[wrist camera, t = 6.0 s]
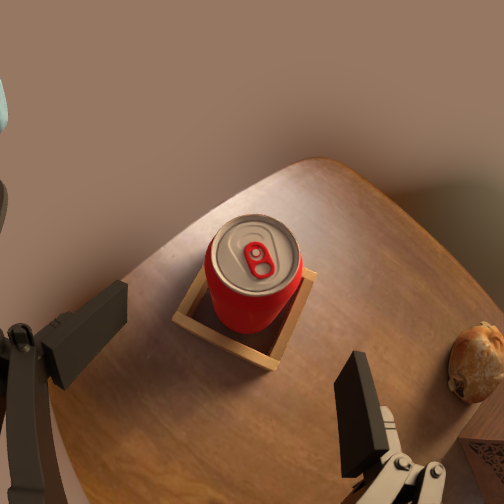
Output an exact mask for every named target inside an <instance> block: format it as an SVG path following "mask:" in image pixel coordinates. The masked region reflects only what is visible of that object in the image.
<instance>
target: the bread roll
mask: <svg viewBox="0 0 504 504" xmlns="http://www.w3.org/2000/svg"><path fill="white" fill-rule="evenodd" d="M448 373H449V378H450V379H449V382H448V386H449V389H450V390H451V391H452V392H453V391H454V392H455V394H456V395H457V396H458V397H459V398H461V399H462V400H463V401H465V402H467V403H478V402H481V401H483V400H485V399H486V398H488V397H489V396H490V395H491V394H493V393H494V391H495V390H496V389H497V387H498V385H499V384H500V383H501V382H502V380H503V376H504V337H503V336H502V334H501V333H500V332H499V330H498V329H497V328H496V326H495V325H494V326H490V324H489V323H488V322H481V326H472V327H470V328H469V329H467V330H465V331H464V332H462V333H461V334H460V336H459V337H458V338H457V339H456V341H455V342H454V346H453V348H452V351H451V356H450V361H449V368H448Z"/></svg>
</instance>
